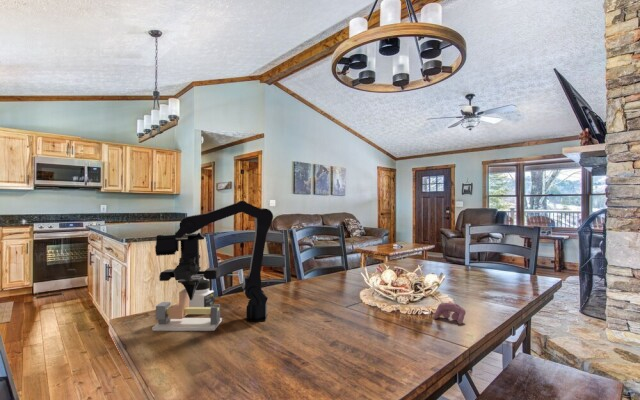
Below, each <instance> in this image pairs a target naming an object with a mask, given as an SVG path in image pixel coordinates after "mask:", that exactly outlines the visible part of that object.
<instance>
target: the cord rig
mask: <svg viewBox="0 0 640 400" xmlns="http://www.w3.org/2000/svg"><path fill="white" fill-rule="evenodd" d="M176 303H177V302H176ZM176 303H172V302H171V301H161V302H160V303H158V304H157V305H156V306H155V320H158V322H157V323H156V324H155V325H154V326H152V328H151V330H152V331H155V332H156V331H158V332H159V331H167V332H169V331H172V332H173V331H175V332H176V331H177V332H178V331H179V332H181V331H182V332H183V331H184V332H186V331H189V332H190V331H193V332H194V331H195V332H199V331H201V332H202V331H204V332H206V331H208V332H209V331H210V332H211V331H213V332H214V331H215V330H217V328H218V327H219V325H221V322H222V321H223V317H221V304H220V303H219V304H216V303H214V305H213V307H185V308H184V314H187V315H210V317H184V318H183V319H170V308H171V307H172V306H173V305H175V304H176Z"/></svg>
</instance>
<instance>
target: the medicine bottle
mask: <svg viewBox="0 0 640 400" xmlns="http://www.w3.org/2000/svg"><path fill="white" fill-rule="evenodd" d="M214 293H215V290H210V279H205V278H203V279H202V280H201V281H199V283H198V285H197V288H196V291H195V293H194V296H193V299H192V300H190V298H189V307H213V305H214V304H215V294H214Z"/></svg>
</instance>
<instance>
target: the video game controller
mask: <svg viewBox="0 0 640 400" xmlns="http://www.w3.org/2000/svg"><path fill="white" fill-rule="evenodd" d="M450 312H452V313H451V314H450ZM441 315H442V316H443V318H444V319H450V317H451V319H452V320H453V321H457V323H458V325H462V324H463V322H464V319H465V315H466V310H465V309H464V308H463V307H462V305H459V304H456V303H453V302H448V301H447V302H441V303H439V304H438V305H437V308H436V310H435V312H434V319H436V320H437V319H439V318H440V316H441Z"/></svg>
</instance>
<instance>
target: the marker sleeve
mask: <svg viewBox="0 0 640 400" xmlns="http://www.w3.org/2000/svg"><path fill="white" fill-rule="evenodd" d="M178 298H179V299H178V302H176V304H175V305H173V306H172V307H171V308H170V319H183V318H186V316H187V315H188V314H184V308H185V307H189V296H188V293H187V291H186V289H185V288H183V289H181V291H179V292H178Z"/></svg>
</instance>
